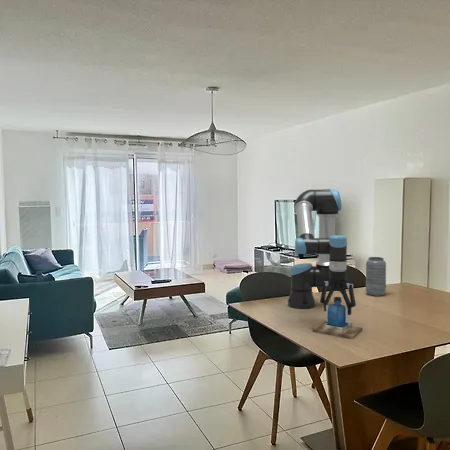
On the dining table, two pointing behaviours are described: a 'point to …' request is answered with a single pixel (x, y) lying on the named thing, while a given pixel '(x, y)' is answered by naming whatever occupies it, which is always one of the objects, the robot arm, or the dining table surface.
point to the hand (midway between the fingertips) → (337, 320)
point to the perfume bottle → (337, 313)
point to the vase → (376, 276)
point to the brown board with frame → (338, 330)
